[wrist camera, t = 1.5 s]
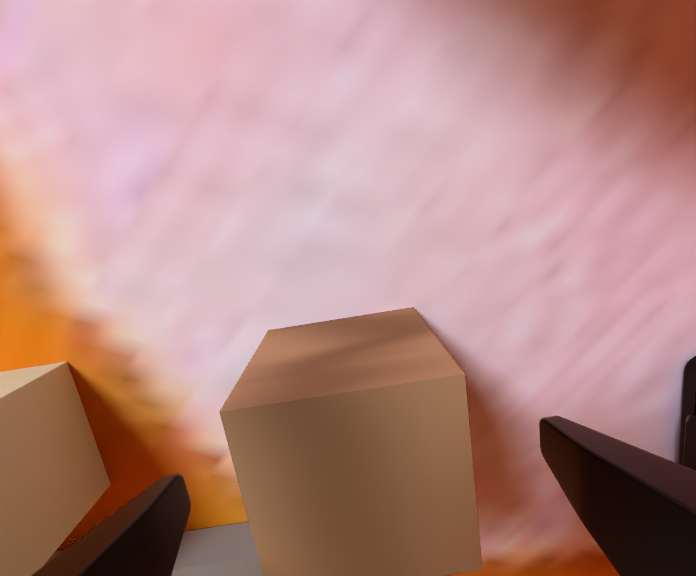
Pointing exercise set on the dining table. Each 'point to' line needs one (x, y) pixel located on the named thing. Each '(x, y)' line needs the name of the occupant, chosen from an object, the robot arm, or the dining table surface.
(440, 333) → the dining table surface
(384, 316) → the walnut cube
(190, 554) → the base board
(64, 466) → the sage cube
